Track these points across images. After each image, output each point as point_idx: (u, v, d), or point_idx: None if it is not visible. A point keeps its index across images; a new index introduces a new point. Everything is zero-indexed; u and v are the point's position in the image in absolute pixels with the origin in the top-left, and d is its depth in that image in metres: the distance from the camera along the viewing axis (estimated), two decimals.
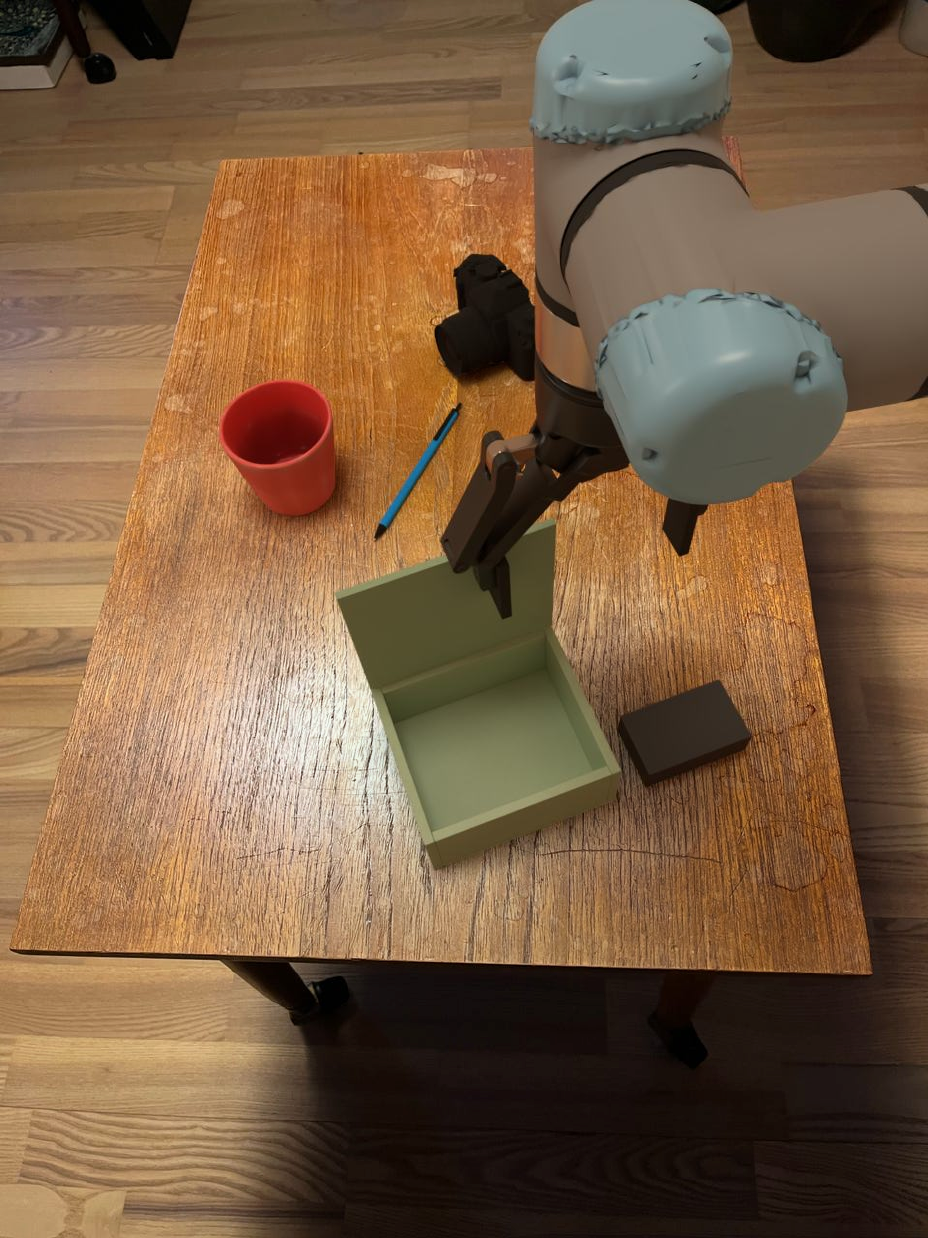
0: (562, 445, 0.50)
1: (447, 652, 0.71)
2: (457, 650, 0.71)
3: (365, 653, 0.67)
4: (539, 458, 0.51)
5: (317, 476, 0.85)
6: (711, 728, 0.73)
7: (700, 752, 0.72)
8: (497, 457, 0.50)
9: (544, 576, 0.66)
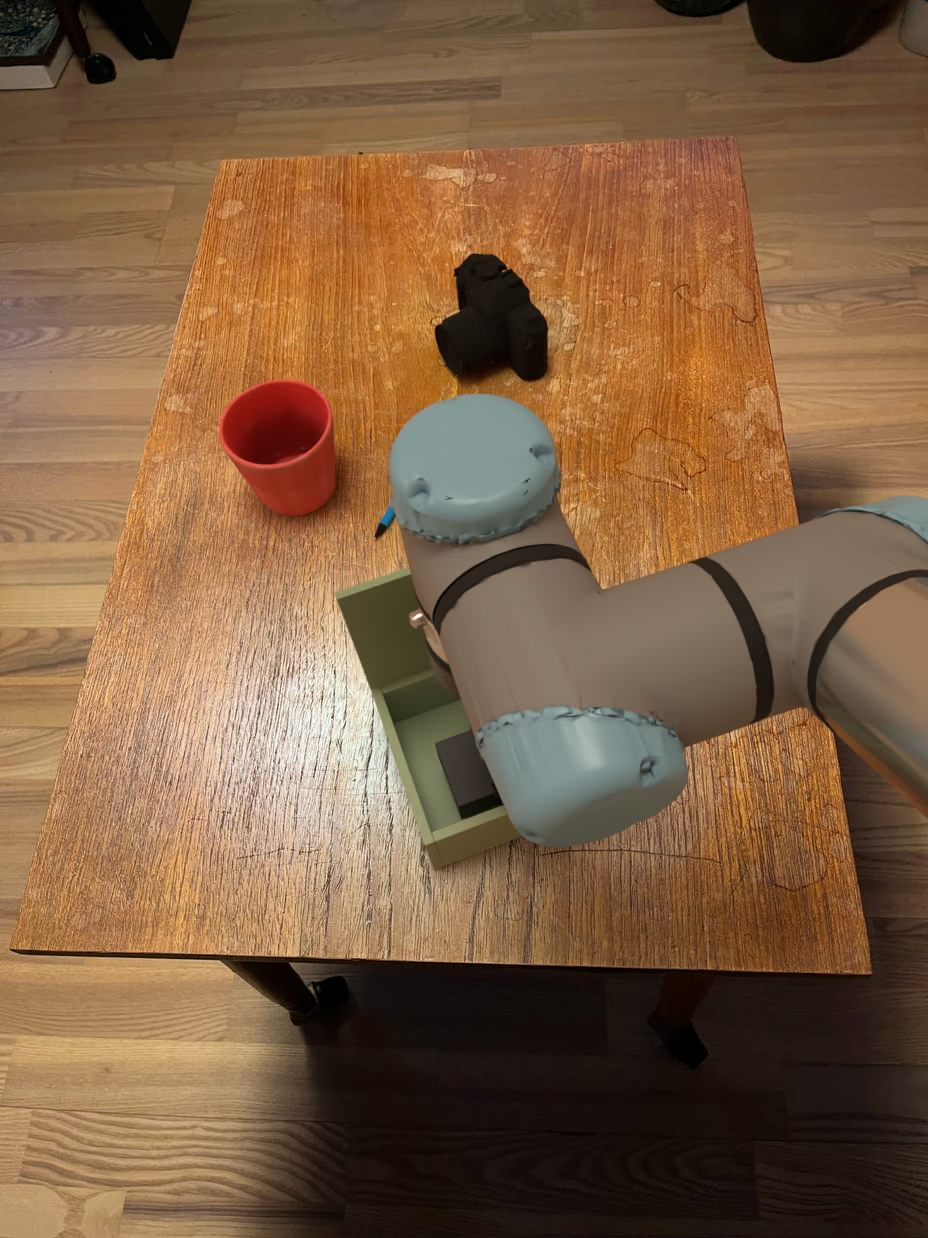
0: None
1: None
2: None
3: (365, 653, 0.67)
4: None
5: (317, 476, 0.85)
6: None
7: None
8: None
9: None
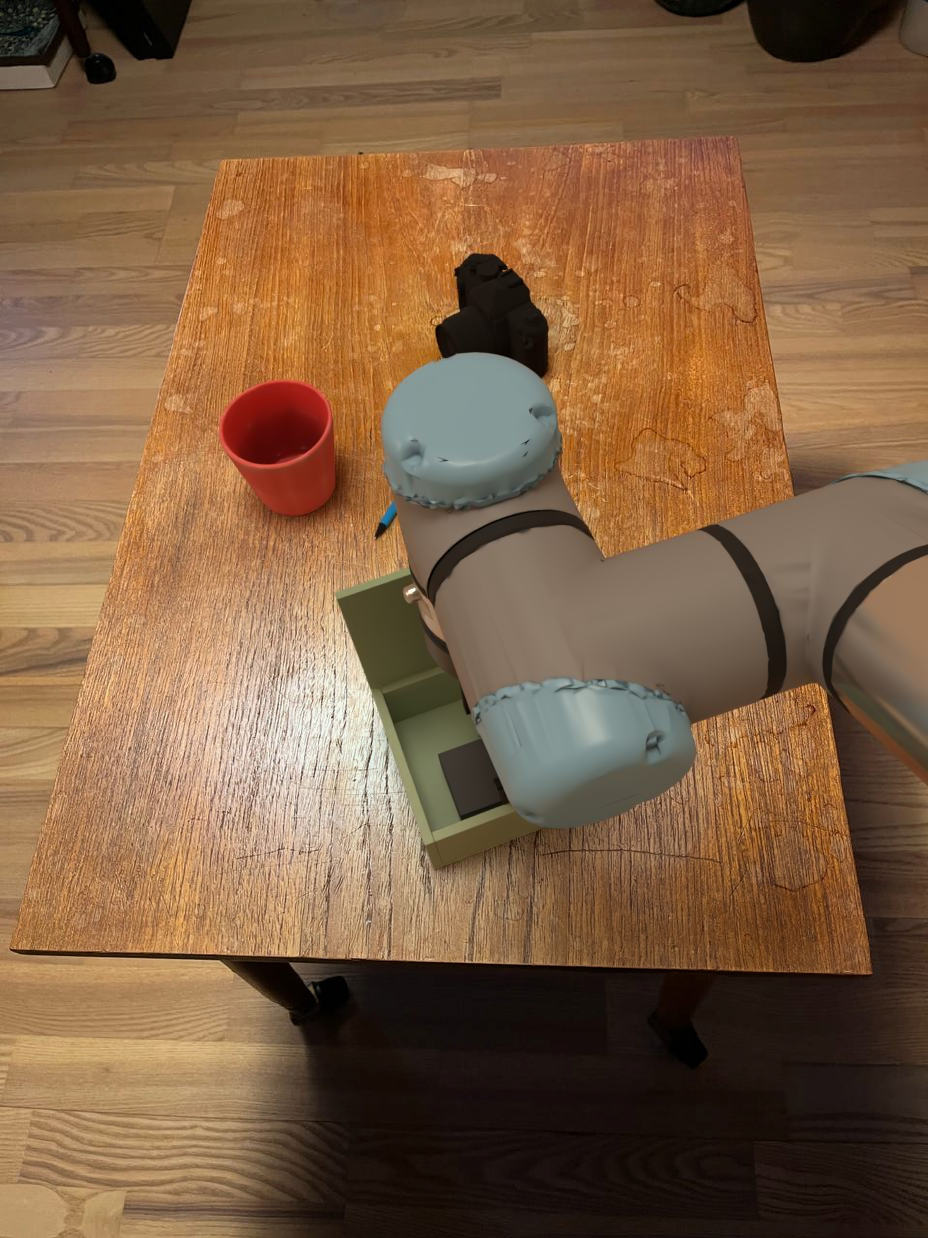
0: None
1: None
2: None
3: (365, 653, 0.67)
4: None
5: (317, 476, 0.85)
6: None
7: None
8: None
9: None
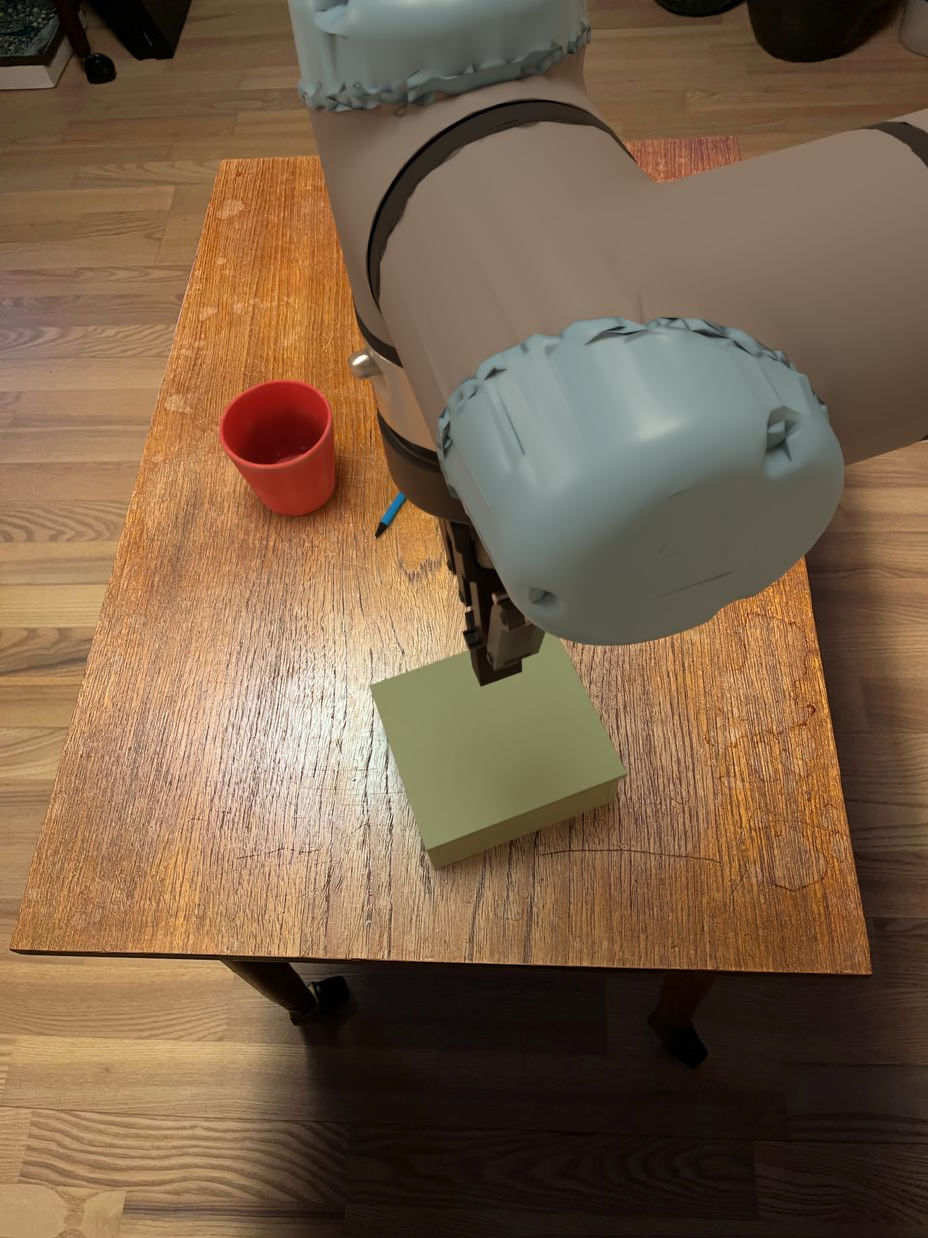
0: None
1: None
2: None
3: None
4: None
5: (317, 476, 0.85)
6: None
7: None
8: None
9: None
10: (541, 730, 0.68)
